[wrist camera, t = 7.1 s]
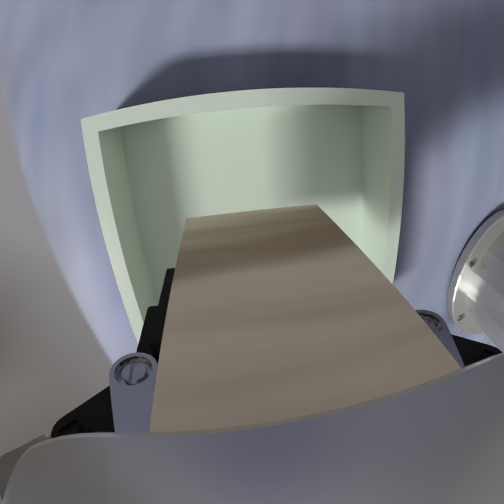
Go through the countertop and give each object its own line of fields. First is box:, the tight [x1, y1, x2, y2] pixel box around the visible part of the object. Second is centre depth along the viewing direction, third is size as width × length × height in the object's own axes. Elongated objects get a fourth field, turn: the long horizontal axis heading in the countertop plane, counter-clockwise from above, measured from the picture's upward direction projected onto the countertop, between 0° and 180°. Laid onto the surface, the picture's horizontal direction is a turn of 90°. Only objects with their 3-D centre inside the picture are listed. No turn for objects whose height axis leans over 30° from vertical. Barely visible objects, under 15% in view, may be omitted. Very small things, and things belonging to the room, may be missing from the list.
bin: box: [81, 88, 405, 344], centre depth 17 cm, size 14×14×4 cm
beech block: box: [149, 204, 462, 432], centre depth 9 cm, size 5×5×9 cm
